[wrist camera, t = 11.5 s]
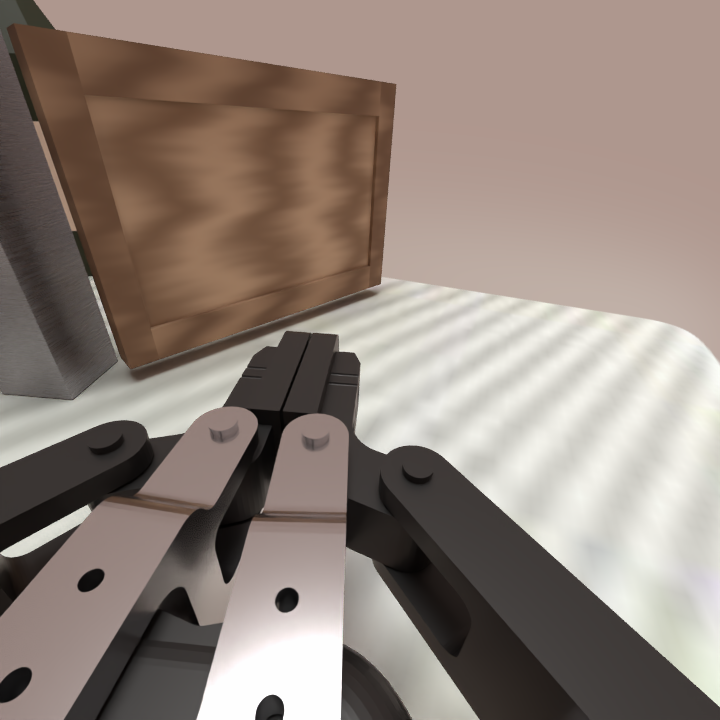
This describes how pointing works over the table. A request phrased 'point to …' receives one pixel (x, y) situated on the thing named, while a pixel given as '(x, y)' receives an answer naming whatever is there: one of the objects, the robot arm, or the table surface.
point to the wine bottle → (3, 8)
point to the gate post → (40, 269)
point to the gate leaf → (210, 183)
